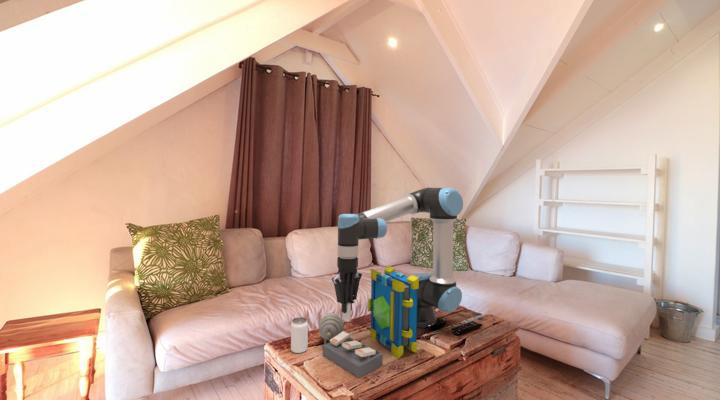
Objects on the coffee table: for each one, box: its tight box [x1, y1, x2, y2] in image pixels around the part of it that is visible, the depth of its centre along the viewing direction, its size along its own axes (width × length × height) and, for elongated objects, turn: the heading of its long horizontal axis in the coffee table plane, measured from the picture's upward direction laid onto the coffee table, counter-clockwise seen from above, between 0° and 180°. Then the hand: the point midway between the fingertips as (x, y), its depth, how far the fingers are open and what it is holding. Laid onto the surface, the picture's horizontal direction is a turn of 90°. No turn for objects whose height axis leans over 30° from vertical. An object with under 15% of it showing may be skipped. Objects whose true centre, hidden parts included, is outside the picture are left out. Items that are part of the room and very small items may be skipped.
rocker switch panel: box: [322, 337, 384, 379], centre depth 122 cm, size 12×20×5 cm, turn 44°
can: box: [290, 316, 309, 354], centre depth 129 cm, size 6×6×12 cm
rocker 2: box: [342, 340, 363, 350], centre depth 122 cm, size 7×4×2 cm, turn 134°
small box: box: [355, 346, 377, 357], centre depth 117 cm, size 7×4×2 cm, turn 135°
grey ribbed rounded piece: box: [318, 312, 345, 345], centre depth 136 cm, size 11×17×11 cm, turn 3°
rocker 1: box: [329, 330, 351, 346], centre depth 127 cm, size 7×4×2 cm, turn 134°
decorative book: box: [367, 265, 419, 360], centre depth 133 cm, size 14×23×30 cm, turn 29°
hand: (346, 320), depth 119 cm, fingers closed
